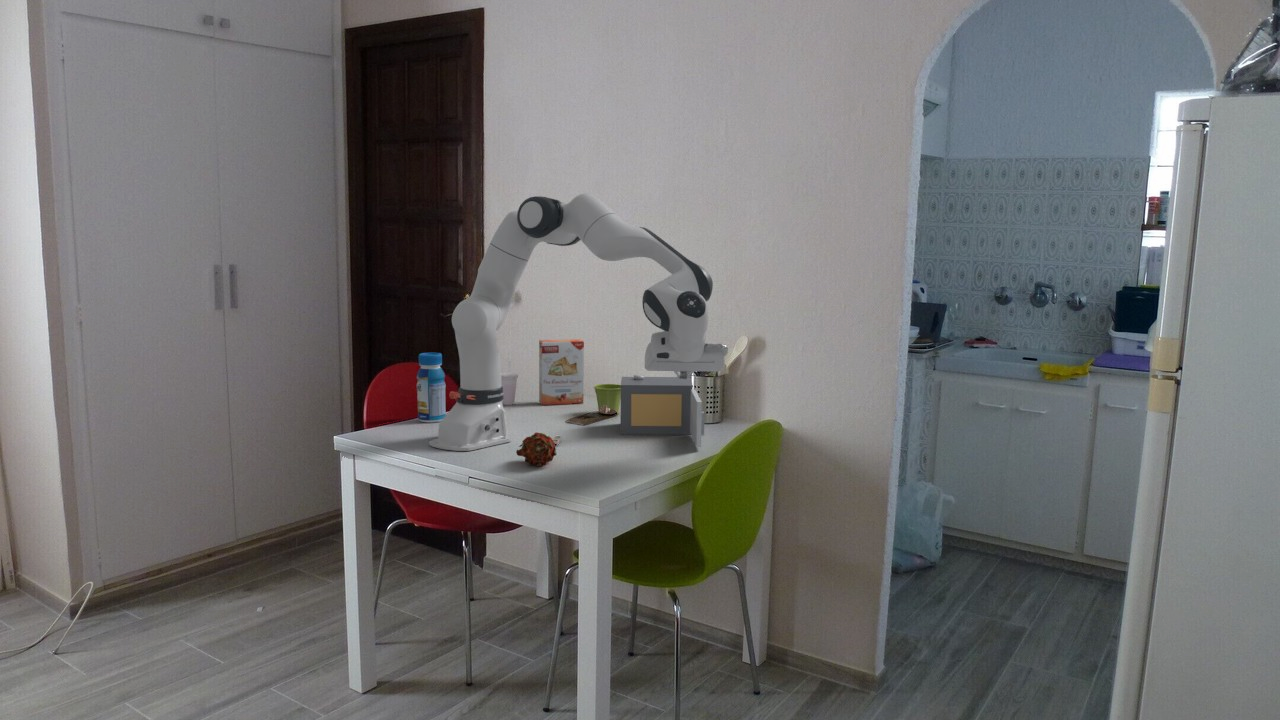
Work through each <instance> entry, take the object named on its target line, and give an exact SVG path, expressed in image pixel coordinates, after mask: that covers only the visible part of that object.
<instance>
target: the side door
mask: <svg viewBox="0 0 1280 720" xmlns="http://www.w3.org/2000/svg"><path fill="white" fill-rule="evenodd" d="M702 405H703V401H702V400H701V398H700V395H698V392H697V391H696V389H693V390H691V414H690V432H691V435H690V436H691V437H692V439H693V442H694V445H695V448H702V436H705V411H702V410H703V409H702V408H703V406H702Z"/></svg>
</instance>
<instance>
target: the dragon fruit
mask: <svg viewBox="0 0 1280 720" xmlns="http://www.w3.org/2000/svg"><path fill="white" fill-rule="evenodd" d="M521 442H522V443H521V444H520V445H519V446H518V447H519V449H516V451H515V453H516V455H517V456H518V457H524V462H525V463H526V464H527V465H529V464H532V465H535V466H537V467H544V466H545V465H546V464H547V463H551V462H552V461H553V460H554V457H555V456H557V449H556V446H555V442H554V440H553V438H552V437H551V436H550V435H548V436H547V435H546V434H545V433H542V432H534V433H533V434H532V435H530V436H526V437H525V438H524V439H523V440H522V441H521ZM543 465H544V466H543Z"/></svg>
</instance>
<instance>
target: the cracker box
mask: <svg viewBox="0 0 1280 720" xmlns="http://www.w3.org/2000/svg"><path fill="white" fill-rule="evenodd" d="M538 340H539V341H538V344H539V345H538V347H539V348H538V349H539V352H538V359H539V360H538V375H539V376H538V393H539V395H538V397H539V398H538V399H539V400H538V401H539V403H540V404H541V405H542V406H549V405H551V406H552V405H553V406H554V405H555V404H556V405H573V404H572V403H583V404H584V394H585V393H584V389H585V388H584V386H585V385H584V382H585V381H584V379H585V377H584V376H585V375H584V372H585V369H584V368H585V362H584V361H585V341H584V340H582V339H581V338H576V339H575V338H571V339H568V338H567V339H538ZM556 405H555V406H556Z"/></svg>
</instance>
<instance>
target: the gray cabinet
mask: <svg viewBox="0 0 1280 720" xmlns="http://www.w3.org/2000/svg"><path fill="white" fill-rule="evenodd" d="M620 385H621V399H620V435H653V436H655V435H658V436H659V435H660V436H661V435H663V436H664V435H666V436H667V435H668V436H669V435H670V436H671V435H672V436H674V435H676V436H679V435H680V436H683V435H684V436H689V435H690V436H692V435H691V432H690V414H691V390H694V389H693V387H694V386H693V382H692V379H691V376H689V379H677V376H645V375H644V374H635V375H633V376H621V380H620Z"/></svg>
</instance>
